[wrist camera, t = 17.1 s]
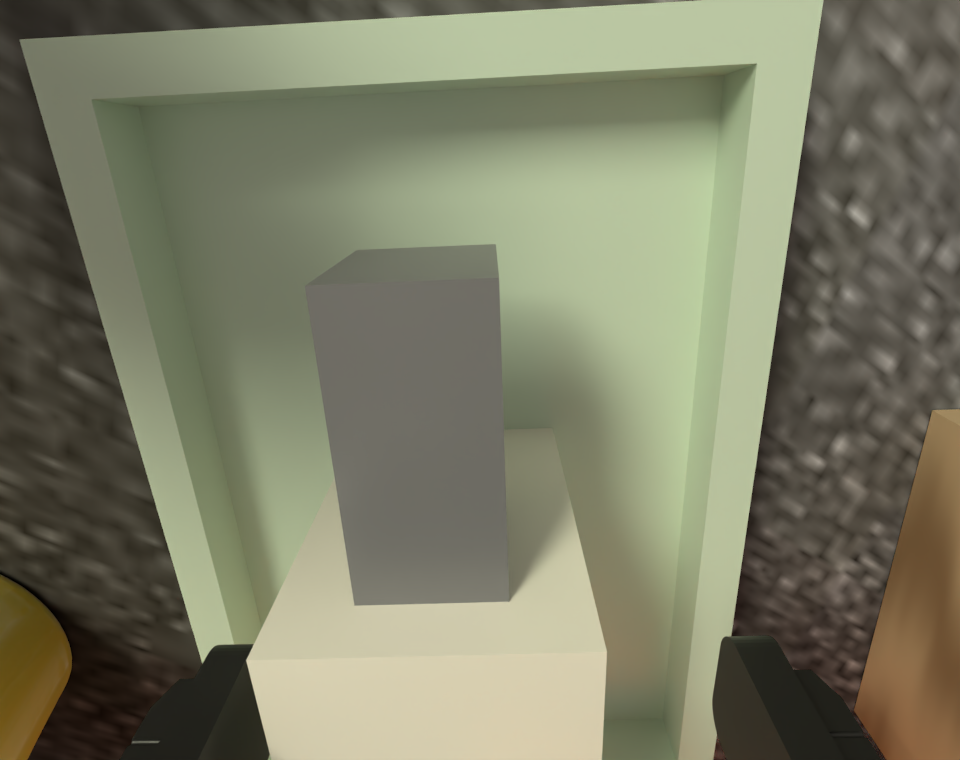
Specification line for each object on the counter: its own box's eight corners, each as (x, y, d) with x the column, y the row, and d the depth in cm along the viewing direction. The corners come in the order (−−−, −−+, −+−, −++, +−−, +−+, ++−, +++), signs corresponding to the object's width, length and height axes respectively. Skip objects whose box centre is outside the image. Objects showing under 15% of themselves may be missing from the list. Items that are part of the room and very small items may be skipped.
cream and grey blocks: (327, 232, 13) (158, 309, 6) (553, 223, 13) (624, 290, 6) (390, 695, 18) (333, 1007, 11) (552, 691, 18) (590, 1006, 11)
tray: (107, 62, 12) (19, 39, 10) (759, 25, 12) (824, -7, 10) (270, 721, 20) (241, 797, 17) (682, 712, 19) (709, 788, 17)
